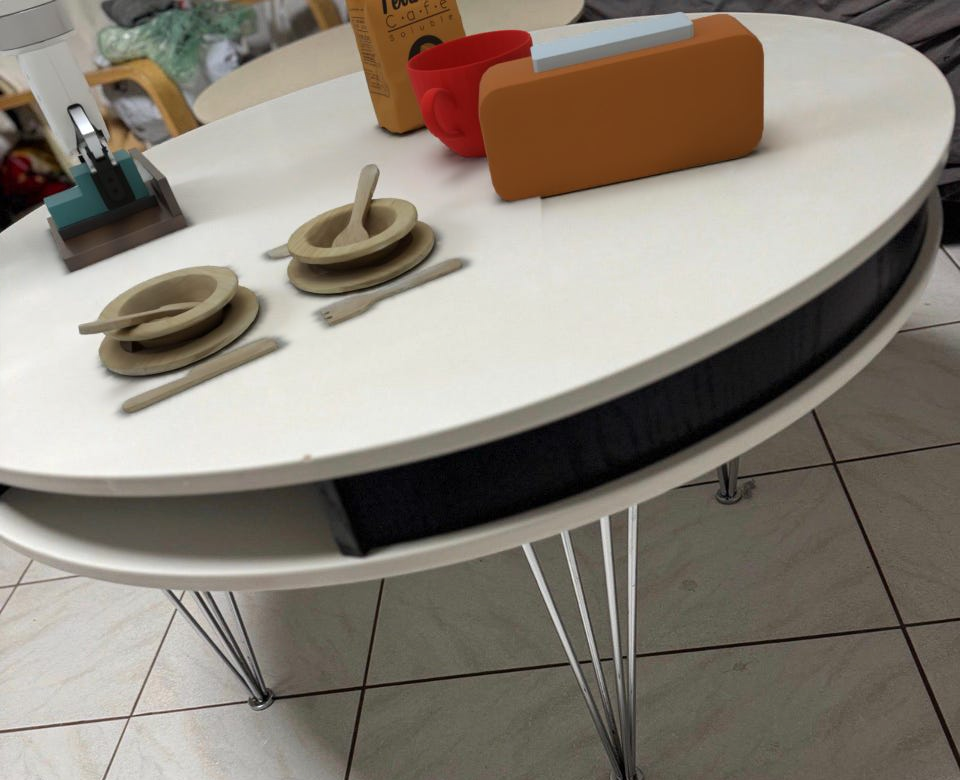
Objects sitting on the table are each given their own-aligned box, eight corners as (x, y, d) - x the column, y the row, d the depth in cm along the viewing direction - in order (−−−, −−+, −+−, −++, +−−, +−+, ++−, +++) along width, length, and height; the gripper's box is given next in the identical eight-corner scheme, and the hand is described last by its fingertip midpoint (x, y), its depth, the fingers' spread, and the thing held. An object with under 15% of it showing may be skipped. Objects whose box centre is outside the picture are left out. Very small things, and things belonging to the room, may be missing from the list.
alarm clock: (742, 125, 78) (740, -8, 71) (764, 154, 72) (765, 11, 65) (496, 176, 82) (472, 54, 75) (496, 208, 75) (470, 78, 68)
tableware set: (123, 421, 59) (81, 352, 55) (93, 326, 74) (58, 266, 70) (478, 266, 67) (462, 196, 63) (387, 208, 81) (369, 148, 78)
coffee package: (490, 112, 99) (448, -104, 85) (395, 145, 97) (336, -72, 83) (462, 97, 107) (419, -104, 93) (373, 127, 105) (316, -74, 91)
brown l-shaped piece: (72, 275, 85) (42, 223, 82) (54, 232, 99) (27, 185, 95) (189, 229, 89) (165, 177, 85) (157, 193, 102) (135, 146, 99)
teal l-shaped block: (63, 241, 89) (35, 191, 86) (57, 229, 93) (31, 180, 90) (159, 204, 92) (136, 155, 89) (150, 194, 96) (127, 146, 93)
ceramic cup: (390, 190, 85) (362, 89, 79) (462, 129, 96) (442, 37, 90) (502, 186, 79) (480, 77, 73) (565, 122, 90) (551, 23, 84)
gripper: (-10, 34, 87) (73, 190, 97) (-1, 48, 74) (93, 226, 85) (60, 13, 89) (133, 168, 99) (80, 23, 76) (162, 200, 87)
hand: (115, 195), depth 92 cm, fingers open, 9 cm apart
